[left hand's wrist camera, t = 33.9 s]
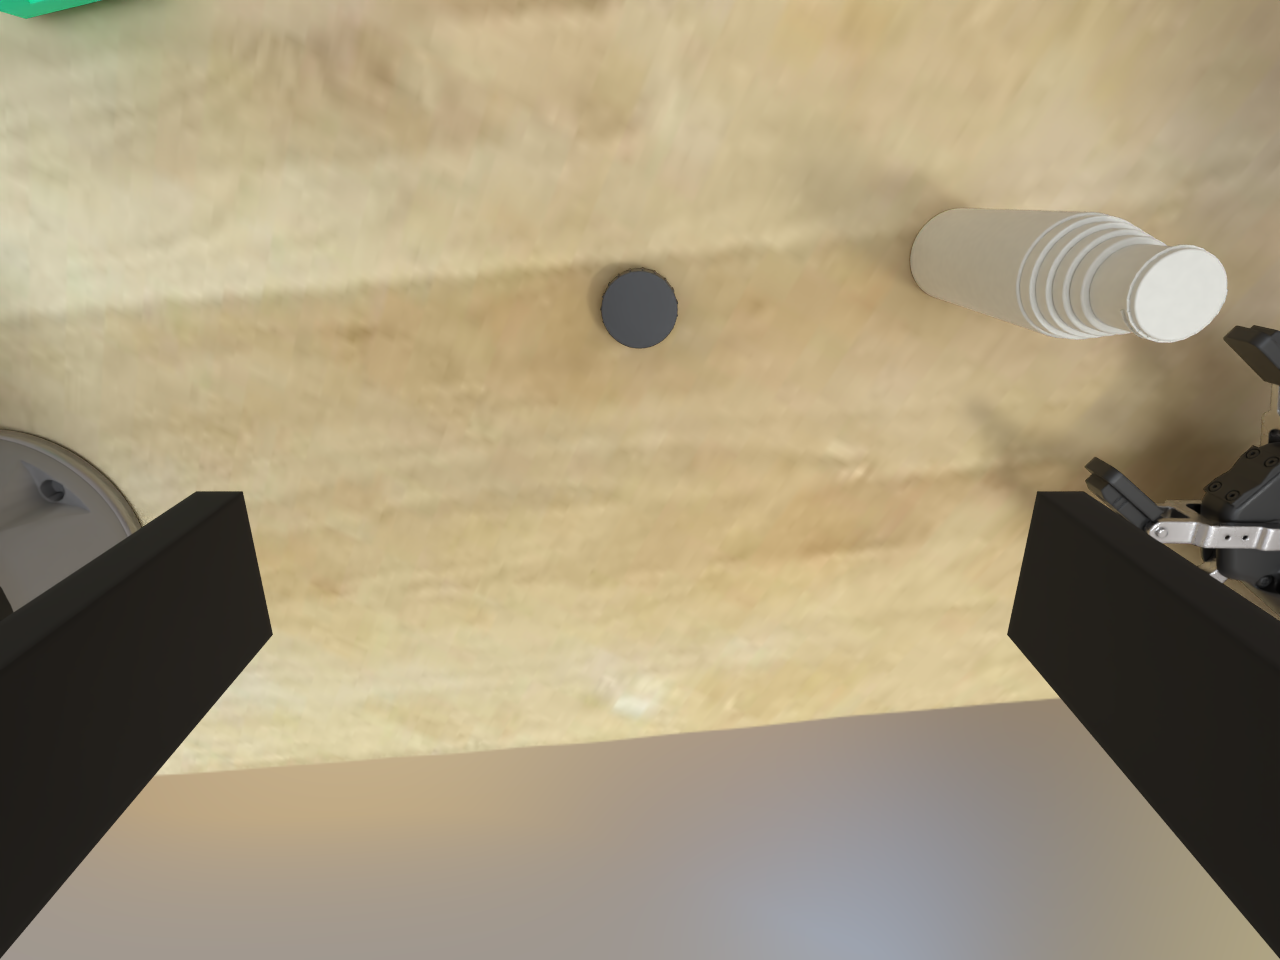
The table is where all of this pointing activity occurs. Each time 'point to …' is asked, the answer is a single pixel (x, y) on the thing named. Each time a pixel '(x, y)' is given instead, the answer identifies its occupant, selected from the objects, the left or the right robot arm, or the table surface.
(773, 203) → the table surface
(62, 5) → the camera mount
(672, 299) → the cap
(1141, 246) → the bottle
